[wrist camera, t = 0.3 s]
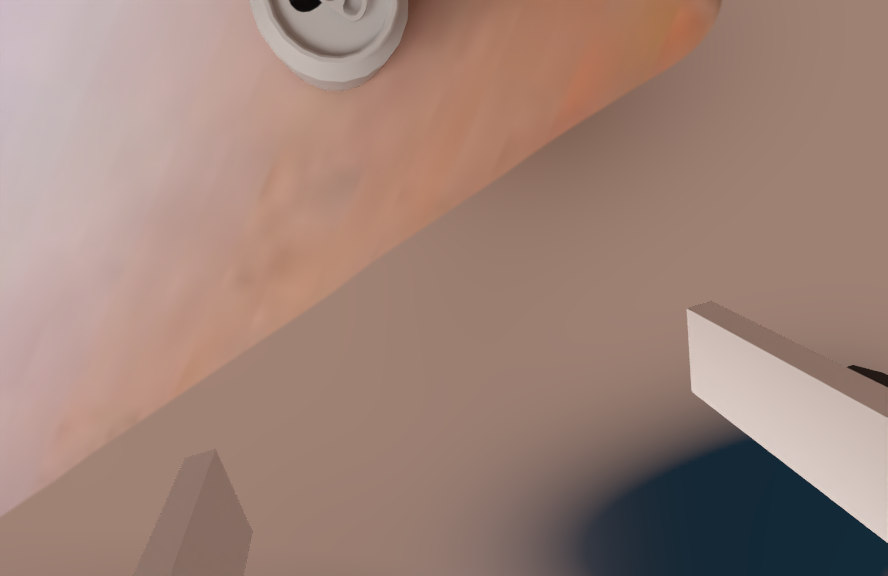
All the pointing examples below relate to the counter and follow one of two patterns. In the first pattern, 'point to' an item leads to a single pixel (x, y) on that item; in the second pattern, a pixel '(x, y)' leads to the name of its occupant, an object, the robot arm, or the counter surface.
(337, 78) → the can
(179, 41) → the counter surface
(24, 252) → the counter surface
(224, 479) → the robot arm
